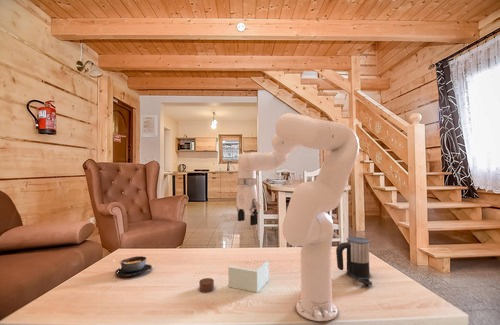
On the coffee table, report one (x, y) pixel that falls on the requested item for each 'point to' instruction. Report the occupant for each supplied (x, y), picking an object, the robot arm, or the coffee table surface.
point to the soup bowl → (133, 266)
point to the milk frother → (355, 258)
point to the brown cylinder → (206, 285)
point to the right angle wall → (248, 277)
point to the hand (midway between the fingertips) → (247, 222)
